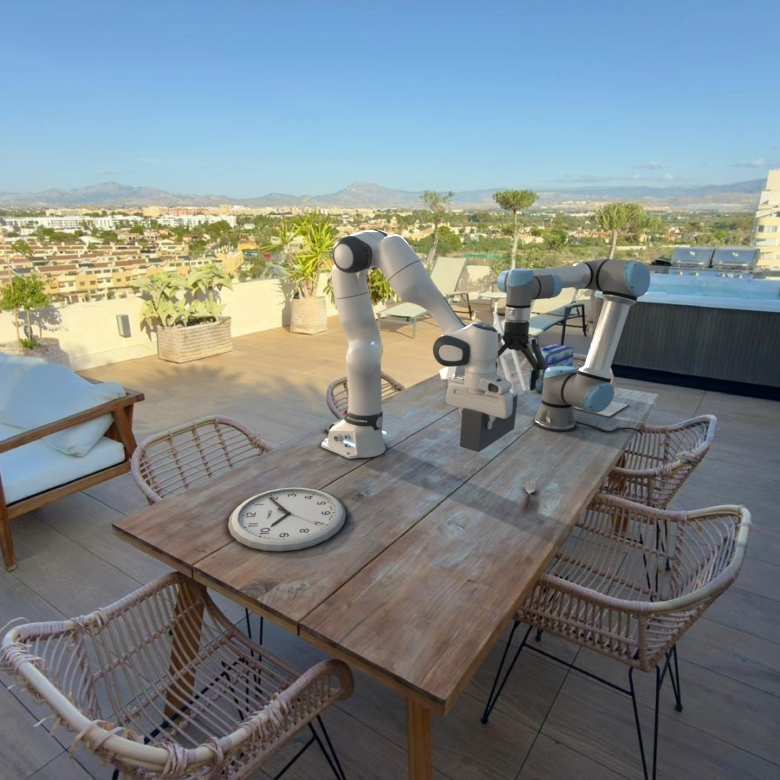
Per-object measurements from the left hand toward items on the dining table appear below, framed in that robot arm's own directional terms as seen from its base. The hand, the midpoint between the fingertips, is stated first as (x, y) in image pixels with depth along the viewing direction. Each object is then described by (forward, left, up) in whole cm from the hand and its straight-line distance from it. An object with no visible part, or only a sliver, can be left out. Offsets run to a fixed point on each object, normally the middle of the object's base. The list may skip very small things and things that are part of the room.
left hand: (476, 425), depth 153 cm
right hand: (+3, +23, +7) cm, 24 cm away
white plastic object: (-31, +85, -18) cm, 92 cm away
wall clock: (-32, -46, -18) cm, 59 cm away
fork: (+18, -2, -18) cm, 25 cm away
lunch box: (-5, +108, -18) cm, 110 cm away
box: (+1, +9, -7) cm, 11 cm away
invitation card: (+21, +95, -18) cm, 98 cm away
